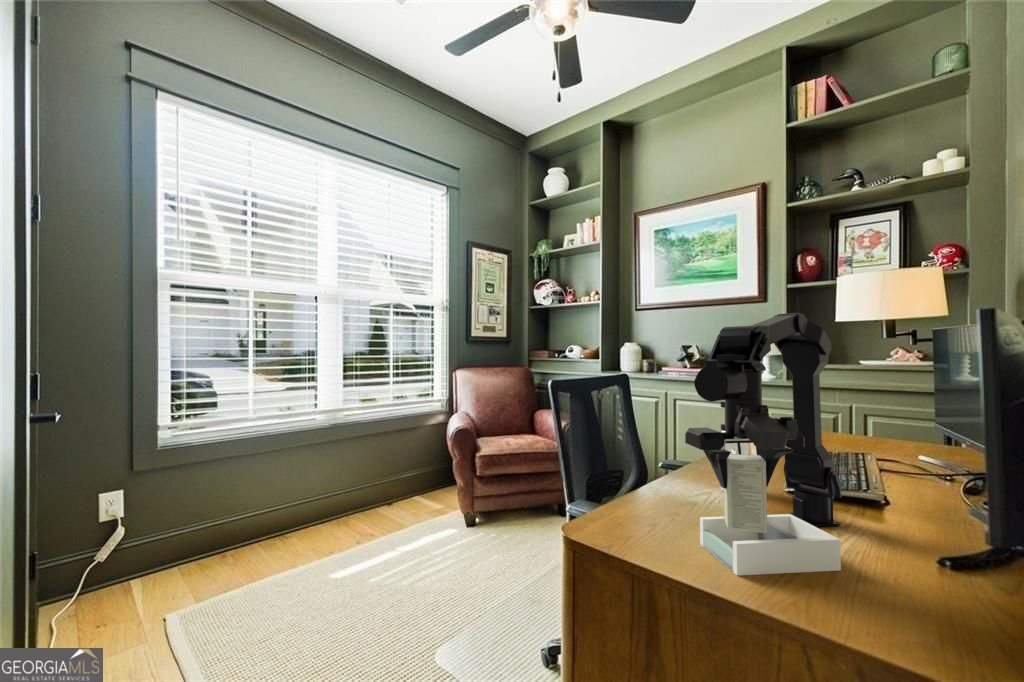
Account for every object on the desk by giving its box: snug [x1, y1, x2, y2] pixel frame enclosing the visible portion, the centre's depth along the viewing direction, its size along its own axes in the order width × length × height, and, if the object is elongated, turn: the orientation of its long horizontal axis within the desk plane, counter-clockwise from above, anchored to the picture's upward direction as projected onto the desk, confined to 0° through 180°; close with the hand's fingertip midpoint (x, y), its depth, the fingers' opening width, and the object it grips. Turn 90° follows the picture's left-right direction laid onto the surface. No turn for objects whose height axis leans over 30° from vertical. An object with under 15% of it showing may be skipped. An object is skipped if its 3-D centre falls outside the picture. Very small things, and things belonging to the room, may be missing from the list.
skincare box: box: [723, 454, 768, 533], centre depth 75 cm, size 6×4×12 cm
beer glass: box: [719, 429, 750, 492], centre depth 110 cm, size 7×7×15 cm
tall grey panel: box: [758, 521, 797, 540], centre depth 75 cm, size 1×8×4 cm, turn 6°
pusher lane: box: [699, 513, 842, 576], centre depth 75 cm, size 18×11×5 cm, turn 96°
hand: (744, 487), depth 75 cm, fingers closed on skincare box, 7 cm apart
